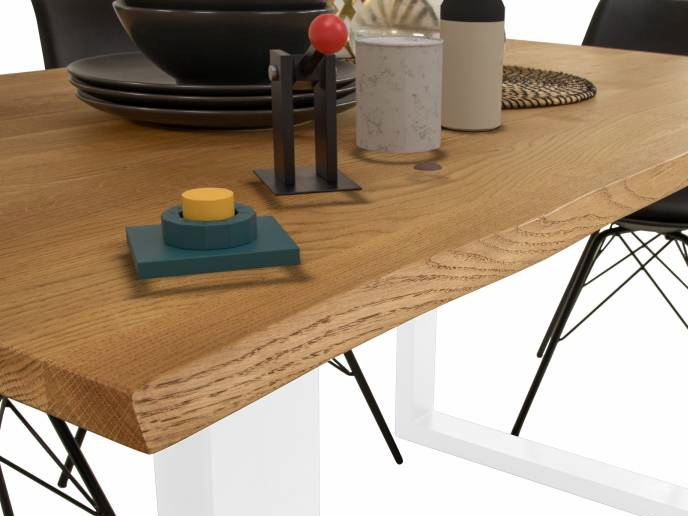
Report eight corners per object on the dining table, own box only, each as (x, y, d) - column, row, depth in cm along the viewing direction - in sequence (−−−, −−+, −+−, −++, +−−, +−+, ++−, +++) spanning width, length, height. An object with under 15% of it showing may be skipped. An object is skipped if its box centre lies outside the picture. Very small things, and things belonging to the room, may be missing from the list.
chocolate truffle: (438, 173, 103) (438, 158, 103) (445, 180, 100) (446, 164, 100) (409, 174, 102) (409, 159, 102) (416, 181, 100) (417, 165, 99)
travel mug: (464, 134, 123) (469, -20, 117) (425, 124, 129) (427, -23, 123) (513, 128, 128) (519, -21, 122) (473, 118, 134) (477, -24, 127)
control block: (139, 293, 67) (134, 236, 66) (127, 254, 75) (123, 203, 74) (300, 277, 71) (299, 222, 70) (273, 242, 79) (271, 192, 78)
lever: (354, 46, 81) (349, 7, 81) (316, 46, 80) (310, 7, 80) (319, 93, 93) (314, 59, 93) (284, 94, 92) (280, 60, 92)
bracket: (362, 200, 92) (361, 57, 88) (275, 206, 89) (270, 59, 85) (333, 176, 101) (330, 45, 96) (253, 181, 98) (247, 46, 94)
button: (186, 226, 70) (185, 201, 69) (179, 212, 73) (178, 189, 72) (238, 221, 71) (237, 197, 71) (229, 209, 74) (228, 186, 74)
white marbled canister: (449, 161, 109) (451, 44, 104) (361, 162, 107) (360, 44, 103) (432, 143, 117) (434, 35, 113) (350, 145, 116) (349, 34, 111)
